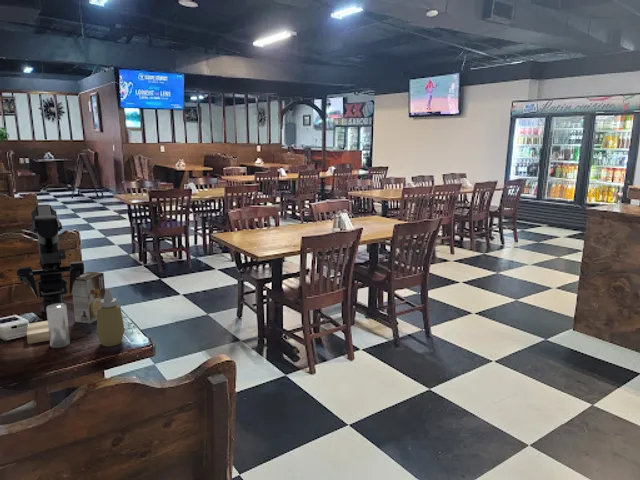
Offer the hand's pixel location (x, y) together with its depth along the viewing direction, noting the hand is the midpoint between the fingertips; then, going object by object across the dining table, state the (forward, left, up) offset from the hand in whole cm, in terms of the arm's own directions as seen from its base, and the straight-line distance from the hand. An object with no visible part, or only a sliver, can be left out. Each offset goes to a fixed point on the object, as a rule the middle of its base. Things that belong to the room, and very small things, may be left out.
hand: (54, 295), depth 147 cm
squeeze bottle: (+1, +20, -14) cm, 24 cm away
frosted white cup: (+5, +5, -14) cm, 15 cm away
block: (0, -4, -14) cm, 14 cm away
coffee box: (-16, +1, -14) cm, 21 cm away
